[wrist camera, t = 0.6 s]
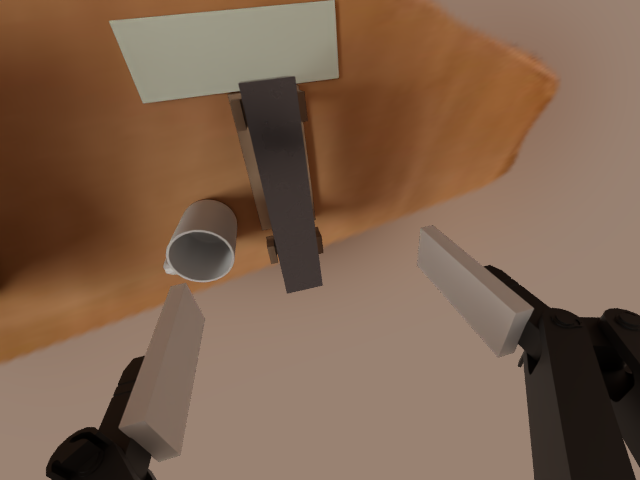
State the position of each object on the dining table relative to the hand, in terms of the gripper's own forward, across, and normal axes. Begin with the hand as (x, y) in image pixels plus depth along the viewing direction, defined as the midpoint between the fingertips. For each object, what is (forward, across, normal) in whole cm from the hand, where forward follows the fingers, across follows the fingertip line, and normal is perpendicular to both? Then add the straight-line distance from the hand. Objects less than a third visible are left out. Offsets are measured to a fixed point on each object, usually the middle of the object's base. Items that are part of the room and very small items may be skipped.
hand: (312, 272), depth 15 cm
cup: (+25, -12, -8) cm, 29 cm away
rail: (+16, 0, -1) cm, 17 cm away
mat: (+24, -2, +12) cm, 27 cm away
